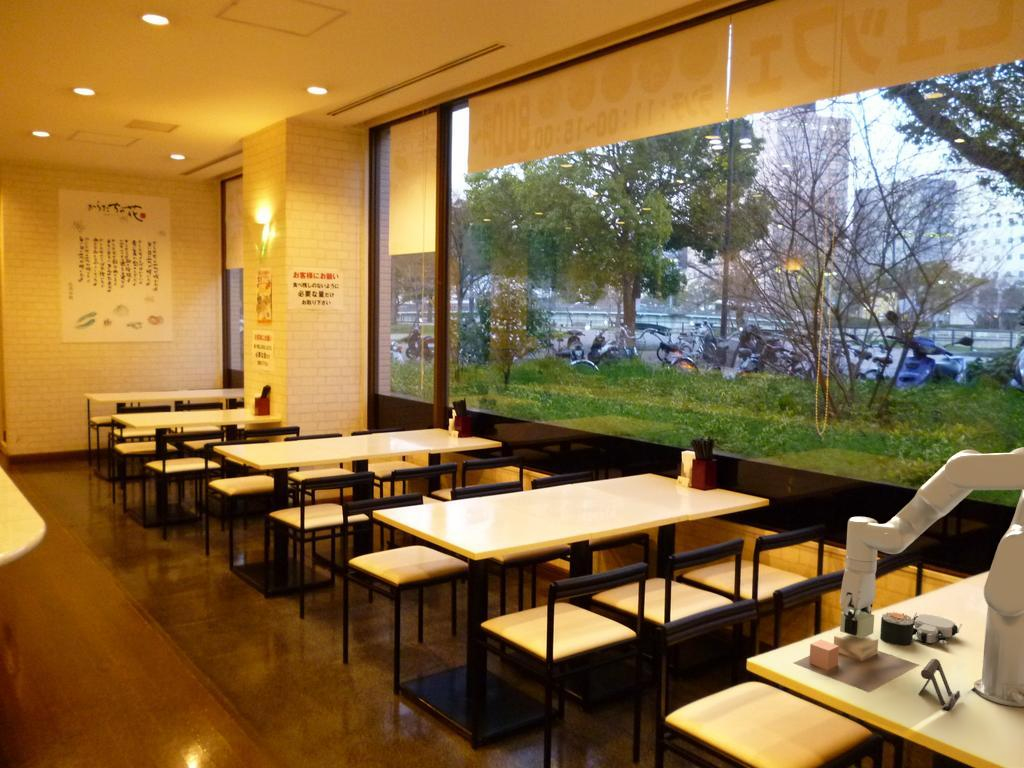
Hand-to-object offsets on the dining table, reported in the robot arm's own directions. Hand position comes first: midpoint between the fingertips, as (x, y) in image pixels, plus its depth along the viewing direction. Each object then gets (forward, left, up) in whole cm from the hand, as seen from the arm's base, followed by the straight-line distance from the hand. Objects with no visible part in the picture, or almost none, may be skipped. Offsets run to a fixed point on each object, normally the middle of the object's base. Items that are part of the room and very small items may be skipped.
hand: (856, 630), depth 214 cm
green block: (0, 0, -1) cm, 1 cm away
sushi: (+9, -15, -7) cm, 19 cm away
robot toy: (+15, -27, -7) cm, 32 cm away
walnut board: (-8, +3, -7) cm, 11 cm away
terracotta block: (-8, +12, -6) cm, 15 cm away
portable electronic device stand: (-25, -9, -7) cm, 27 cm away
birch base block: (0, 0, -6) cm, 6 cm away
